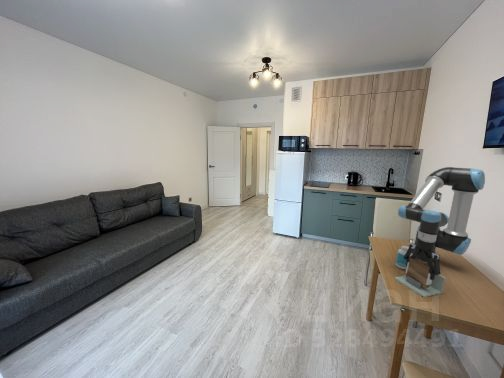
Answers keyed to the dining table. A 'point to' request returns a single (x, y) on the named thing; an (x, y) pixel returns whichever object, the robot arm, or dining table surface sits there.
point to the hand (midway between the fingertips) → (417, 278)
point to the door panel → (418, 271)
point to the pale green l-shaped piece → (433, 288)
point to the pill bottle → (400, 260)
